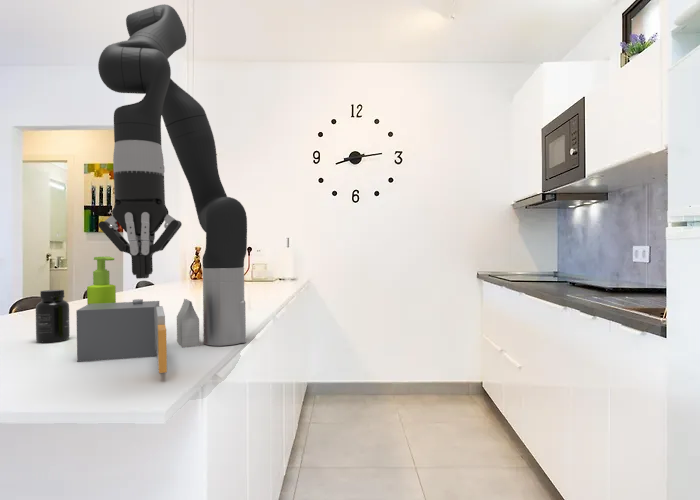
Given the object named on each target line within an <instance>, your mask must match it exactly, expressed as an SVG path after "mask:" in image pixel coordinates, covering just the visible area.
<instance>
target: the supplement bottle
mask: <svg viewBox="0 0 700 500" xmlns="http://www.w3.org/2000/svg"><path fill="white" fill-rule="evenodd" d="M64 298H65V290H64V289H48V290H40V296H39V299H40V300H41V301H40V302H38V303H37V304H36V306H35V340H36V342H37V343H39V344H40V343H41V344H47V343H48V344H49V343H58V342H64V341H67V340H68V339H70V334H71V333H70V328H71V327H70V305H69V302H68V301H66V300H65V299H64Z"/></svg>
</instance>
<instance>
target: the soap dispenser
mask: <svg viewBox="0 0 700 500" xmlns="http://www.w3.org/2000/svg"><path fill="white" fill-rule="evenodd" d="M93 260H94V261H96V269H95V270H93V271H92V275H93V276H92V279H93V281H92V282H93V283H92V284H91V285H88V286H87V290H86V292H87V293H86V295H87V297H86V298H87V302H86V303H87V304H86V305H88V304H95V303H117V302H116V300H117V297H116V293H117V292H116V291H117V288H116V287H117V286H116V285H115V284H110V282H111V281H110V270H108V269H107V268H106V261H115V258H114V257H112V256H107V255H105V256H94V257H93Z"/></svg>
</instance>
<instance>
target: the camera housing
mask: <svg viewBox="0 0 700 500" xmlns="http://www.w3.org/2000/svg"><path fill="white" fill-rule="evenodd" d="M158 306H160V300H152V301H150V300H148V301H144V300H143V299H141V298H138V299H132V301H123V302H121V301H120V302H116V303H95V304H86V305H85V306H82V307H81V308H78V309H76V314H75V315H76V355H77V356H76V358H77V363H79V362H94V361H105V360H106V361H109V360H121V359H122V360H123V358H124V359H133V358H136V357H138V358H148V357H150V356H151V357H156V356H157V316H156V307H158ZM151 357H150V358H151ZM136 359H137V358H136Z"/></svg>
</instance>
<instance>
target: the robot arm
mask: <svg viewBox="0 0 700 500" xmlns="http://www.w3.org/2000/svg"><path fill="white" fill-rule="evenodd" d="M125 25H126V28H127V29H126V30H127V32H128V33H127V34H128V35H129V37H128V39H127V40H122V41H117V42H115V43H114V42H113V43H112V44H109V45H107V46H106V47H104V49H102V52H101V53H100V56H99V59H98V65H97V67H98V68H97V69H98V74H99V77H100V79H101V81H102V83H103V84H104V85H105V86H106V87H107V88H108V89H109V90H111V91H112V92H115V93H120V94H137V95H138V94H139V95H143V94H144V96H143V98H142V99H141V100H139V101H138V102H135V103H134V102H133V103H130V104H124V105H121V106H118V107H117V108H115V110H114V112H113V140H114V144H113V154H112V155H113V156H112V157H113V159H112V162H113V163H112V164H113V188H114V189H113V190H114V206H113V209H112V210H111V214H112V215H110V216H109V217H108V218H107V219H105V220H102V221H99V222H98V225H97V226H98V228H99V229H100V230H101V231H102V232H103V233H104V235H105V236H106V237H107V238H108V240H110V241H111V243H112V244H113V245H114V246H115V247H116V248H117V249H118V251H119V252H123V253H126V254H129V255H130V256H131V257H130V258H131V272H132V275H133V276H135V277H136V279H137V280H139V279H140V280H141V279H148V278H149V277H150V275H152V274H153V271H154V269H153V255H154V254H155V253H157V252H160V251H163V250H164V249H166V247H167V246H168V244H169V242H170V241H171V240H172V239H173V237H175V235H176V234H177V232H178V231H179V230H180V228H181V227H182V222H181V220H178V219H176V218H174V217H173V216H171V215H170V214H169V210H168V208H167V206H166V197H165V196H166V193H165V192H166V191H165V165H164V164H165V162H164V156H163V155H164V154H163V149H162V120H163V123H164V126H165V128H166V131H167V135H168V137H169V139H170V143H171V145H172V147H173V149H174V151H175V155H176V158H177V160H178V163H179V164H180V166H181V169H182V171H183V174H184V176H185V178H186V180H187V183H188V186H189V189H190V192H191V195H192V199H193V203H194V207H195V210H196V214H197V219H198V223H199V225H200V227H201V230H203V232H204V233H205V250H204V253H203V255H202V305H203V306H202V311H203V312H202V318H203V321H202V324H203V326H202V327H203V328H202V329H203V333H202V335H203V344H204V345H207V346H220V347H221V346H233V345H237V344H243V343H244V344H245V343H246V342H247V338H246V336H247V335H246V334H247V333H246V332H247V331H246V330H247V328H246V326H247V325H246V320H247V319H246V300H245V258H246V256H247V249H248V245H247V244H248V217H247V212H246V208H245V207H244V205H243V204H242V203H241V201H240V200H237V198H234V197H230V196H228V195H227V193H226V191H225V187H224V186H223V183H222V180H221V178H220V177H221V176H220V174H219V168H218V158H217V148H216V140H215V137H214V133H213V129H212V127H211V124H210V121H209V119H208V117H207V113H206V111H205V109H204V108H203V106H202V105H201V104H200V102H199V101H197V100H196V99H195V98H194V97H193V96H191V94H189V93H188V92H186V90H184V89H183V88H182V87H181V86H179V85H178V84H177V83H176V82H175V81H174V80H173V79H172V78H171V77H172V76H171V75H172V70H171V65H170V61H169V58H170V57H171V56H172V55H174V53H176V52H177V51H179V50H180V49H182V48H184V47H185V46H186V43H187V33H186V29H185V26H184V23H183V22H182V19H181V17H180V15H179V14H178V12H177V10H176V9H175V8H174V7H172V6H171V5H169V4H158V5H154V6H152V7H148V8H145V9H142V10H138V11H135V12H132V13H130V14H128V15H127V16H126V18H125ZM164 222H165V223H164ZM163 223H164V225H163ZM118 225H119V226H120V227H121V228H122V229H123V231H124V232H125V233H126V234H127V240H128V241H127V240H126V239H125V237H123V235H122V234H121V233H120V232H119V231H118V229H119V226H118ZM162 225H163V227H164V228H165V229H164V231H163V232H162V233H161V235H159V237H158V238H157V240H156V241H155V239H156V238H155V237H156V236H155V235H156V233H157V232H158V231H159V229H160V227H161V226H162Z"/></svg>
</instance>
